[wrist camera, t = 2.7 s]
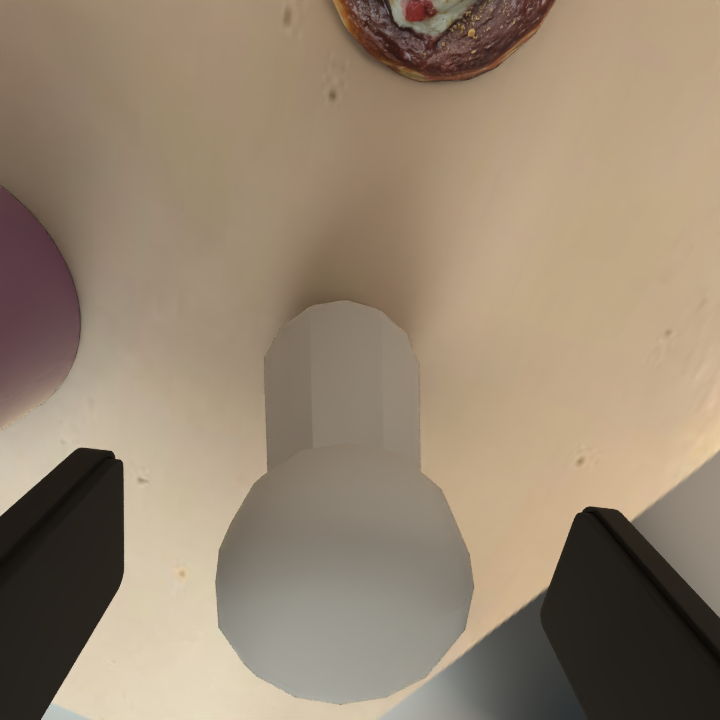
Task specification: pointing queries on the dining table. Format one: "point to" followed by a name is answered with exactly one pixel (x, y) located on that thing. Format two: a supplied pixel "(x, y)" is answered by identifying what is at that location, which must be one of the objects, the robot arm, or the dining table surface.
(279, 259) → the dining table surface
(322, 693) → the salt shaker
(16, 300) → the jar
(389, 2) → the pastry
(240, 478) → the dining table surface
